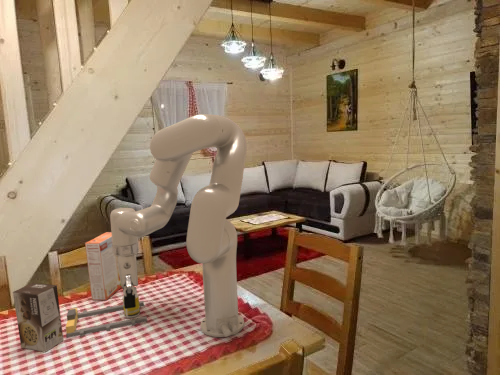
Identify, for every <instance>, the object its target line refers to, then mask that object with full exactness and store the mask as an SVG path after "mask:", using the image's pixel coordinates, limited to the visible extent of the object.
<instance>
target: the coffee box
mask: <svg viewBox="0 0 500 375" xmlns="http://www.w3.org/2000/svg"><path fill="white" fill-rule="evenodd" d="M58 292H59V291H58V285H56V284H48V283H47V284H46V283H38V282H31V283H29V284H27V285H25V286H23V287H20V288H18V289H17V290H14V291H13V292H12V296H13V302H14V309H15V315H16V324H17V328H18V334H19V342H20V343H19V344H20V348H22V349H28V350H32V351H37V352H38V351H39V352H43V353H44V352H45V353H46V352H48V351H49V350H51V349H53V348H54V347H55V346H57V345H59V344H60V343H61V342H63V341H64V335H63V334H64V333H63V327H62V326H63V325H62V318H61V310H60V303H59V302H60V300H59V293H58Z"/></svg>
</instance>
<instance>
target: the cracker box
mask: <svg viewBox="0 0 500 375" xmlns="http://www.w3.org/2000/svg"><path fill="white" fill-rule="evenodd" d="M84 245H85V255H86V261H87V269H88V271H87V272H88V279H89V287H90V292H91V293H90V294H91V300H92V301H108V300H109V299H110V298H111V297H112V296H113V295H114V294H116V292H118V291H119V290H120V289H122V286H121V281H120V276H119V268H118V257H117V256H114V255H113V246H112V233H111V231H107V232H104V233H101V234H100V235H98V236H96V237H95V238H92V239H90V240H89V241H86V242H85V243H84Z"/></svg>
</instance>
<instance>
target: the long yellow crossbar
mask: <svg viewBox="0 0 500 375" xmlns="http://www.w3.org/2000/svg"><path fill="white" fill-rule="evenodd" d="M78 313H79V312H78V307H75V308H74V307H73V308H70V309H68V310H67V313H66V325H65V333H66V334H67V333H72V332H74V331H75V330H77V326H78V325H77V324H78V319H79V318H78Z"/></svg>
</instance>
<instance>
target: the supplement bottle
mask: <svg viewBox="0 0 500 375" xmlns="http://www.w3.org/2000/svg"><path fill="white" fill-rule="evenodd" d="M131 289H132V288H131ZM126 290H127V289H126ZM122 294H124V290H123V289H122ZM134 294H135V302H136V307H134V308H128V309H125V307H124V296H125V294H124V295H123V296H122V305H123V307H124V310H123V313H124V314H123V315H124V317H125V318H127V319H134V318H137V317H138V316H139V315H140V313H141V309H140V307H141V306H139V302H140V299H139V293H138V288H137V286H134Z"/></svg>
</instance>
